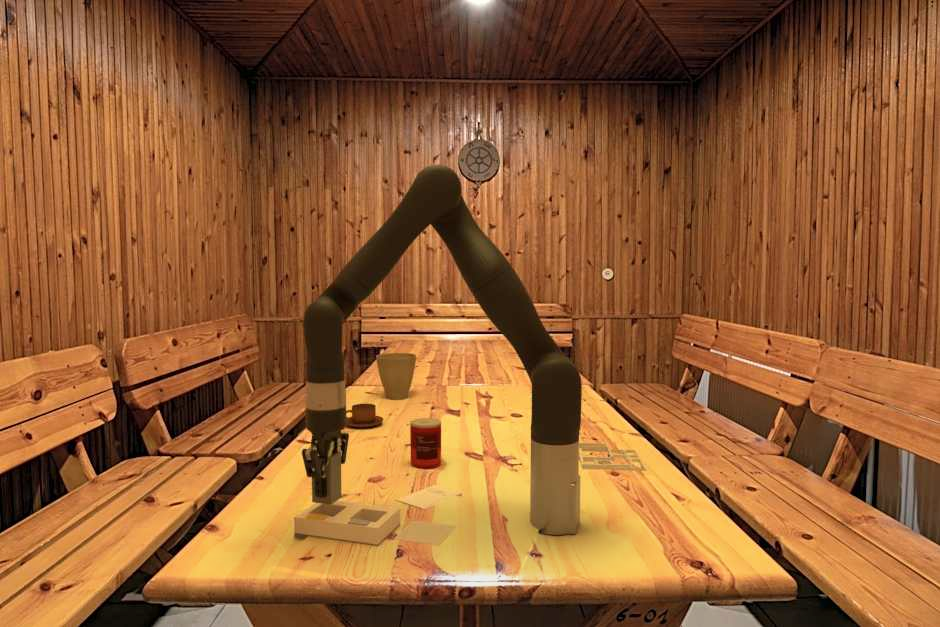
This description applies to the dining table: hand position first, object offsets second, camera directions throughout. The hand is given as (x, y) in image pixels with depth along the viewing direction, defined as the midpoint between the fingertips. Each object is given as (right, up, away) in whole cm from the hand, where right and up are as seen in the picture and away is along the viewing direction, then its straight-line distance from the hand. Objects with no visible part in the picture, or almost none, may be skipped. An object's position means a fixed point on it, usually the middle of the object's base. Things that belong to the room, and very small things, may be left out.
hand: (327, 492), depth 127 cm
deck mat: (+19, -8, -2) cm, 20 cm away
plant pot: (0, +2, +122) cm, 122 cm away
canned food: (+16, -4, +42) cm, 45 cm away
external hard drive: (+18, -7, +17) cm, 26 cm away
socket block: (+4, -8, -1) cm, 9 cm away
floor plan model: (+59, -4, +47) cm, 75 cm away
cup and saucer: (-6, -1, +81) cm, 82 cm away
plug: (0, -1, 0) cm, 1 cm away
